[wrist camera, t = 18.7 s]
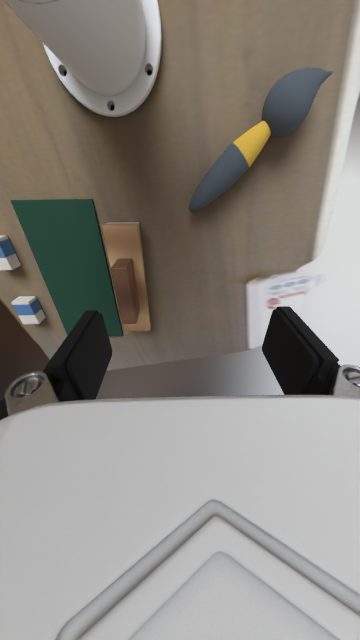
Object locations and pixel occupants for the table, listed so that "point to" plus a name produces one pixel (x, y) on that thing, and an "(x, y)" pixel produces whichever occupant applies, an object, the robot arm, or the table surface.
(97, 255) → the desk mat
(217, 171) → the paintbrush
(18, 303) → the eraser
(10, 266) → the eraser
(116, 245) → the scrub brush
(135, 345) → the table surface
